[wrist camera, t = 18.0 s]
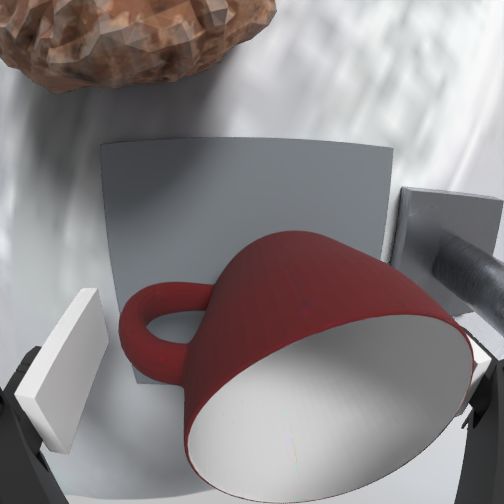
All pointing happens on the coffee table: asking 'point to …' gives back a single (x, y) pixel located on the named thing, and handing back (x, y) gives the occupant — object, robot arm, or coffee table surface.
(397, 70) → the coffee table surface
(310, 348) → the mug
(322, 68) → the coffee table surface
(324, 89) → the coffee table surface
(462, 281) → the clip post
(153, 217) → the mat
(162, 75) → the decorative rock
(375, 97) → the coffee table surface
